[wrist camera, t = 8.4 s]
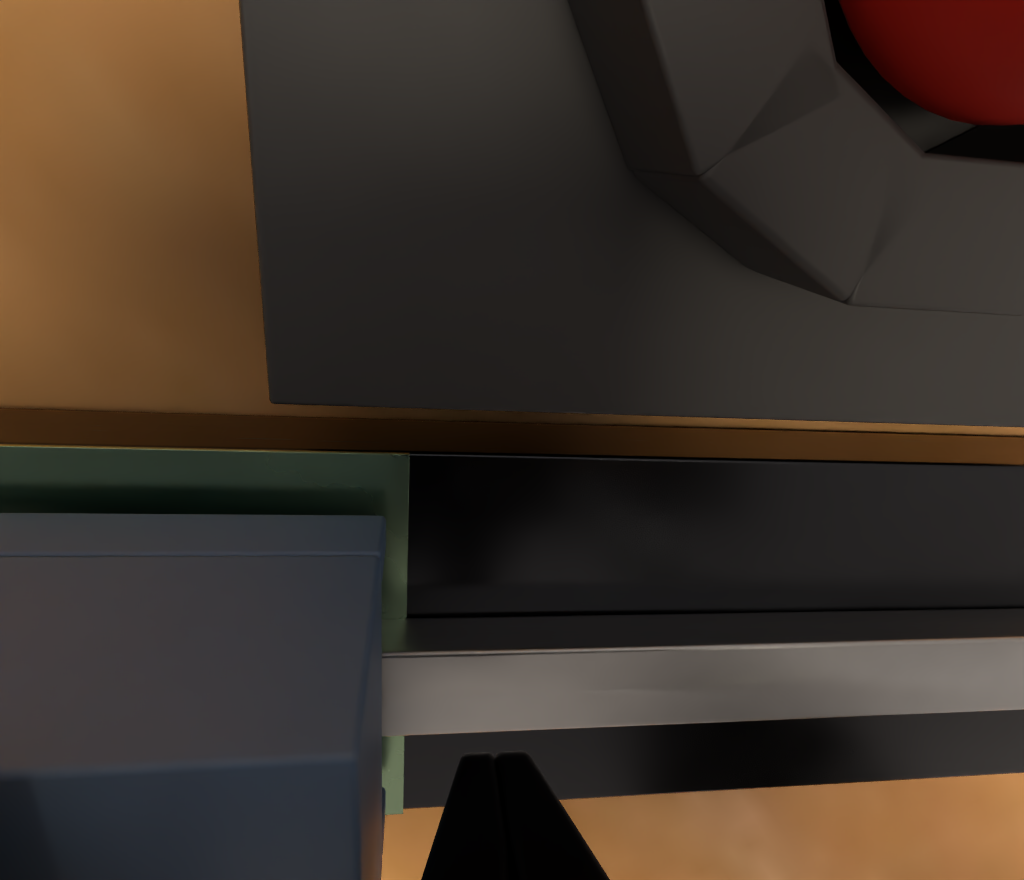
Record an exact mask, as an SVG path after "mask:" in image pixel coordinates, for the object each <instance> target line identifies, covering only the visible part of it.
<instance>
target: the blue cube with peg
mask: <svg viewBox="0 0 1024 880" xmlns="http://www.w3.org/2000/svg"><path fill="white" fill-rule="evenodd" d="M385 549H386V519H385V517H384V516H367V515H226V514H85V513H0V880H381V871H382V854H383V840H384V824H385V808H386V791H385V788H384V787H382V601H381V582H382V578H383V568H384V559H385Z"/></svg>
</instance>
